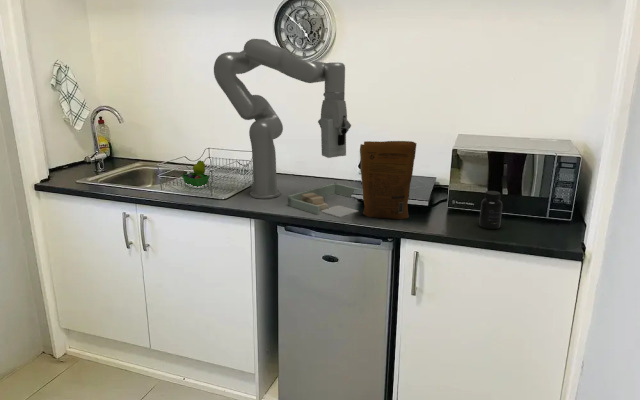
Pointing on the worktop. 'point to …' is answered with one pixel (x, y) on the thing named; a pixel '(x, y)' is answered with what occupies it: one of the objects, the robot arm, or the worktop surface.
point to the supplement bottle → (491, 210)
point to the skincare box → (331, 140)
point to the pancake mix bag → (386, 177)
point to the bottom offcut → (322, 206)
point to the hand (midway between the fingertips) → (333, 143)
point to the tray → (321, 191)
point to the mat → (339, 211)
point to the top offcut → (313, 198)
